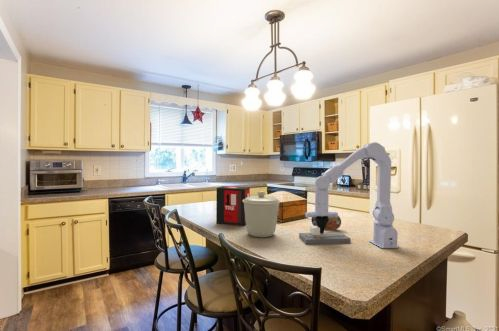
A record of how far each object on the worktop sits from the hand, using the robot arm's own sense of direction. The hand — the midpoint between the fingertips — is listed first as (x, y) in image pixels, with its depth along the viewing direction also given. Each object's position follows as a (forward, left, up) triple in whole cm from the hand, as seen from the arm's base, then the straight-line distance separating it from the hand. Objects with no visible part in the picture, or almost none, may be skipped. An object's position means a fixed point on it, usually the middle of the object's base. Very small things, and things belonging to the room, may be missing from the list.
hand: (321, 233), depth 120 cm
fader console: (0, -1, -3) cm, 3 cm away
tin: (+19, -10, -3) cm, 22 cm away
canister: (+11, +26, -3) cm, 28 cm away
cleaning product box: (+35, +38, -3) cm, 52 cm away
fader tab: (0, +3, -1) cm, 3 cm away
